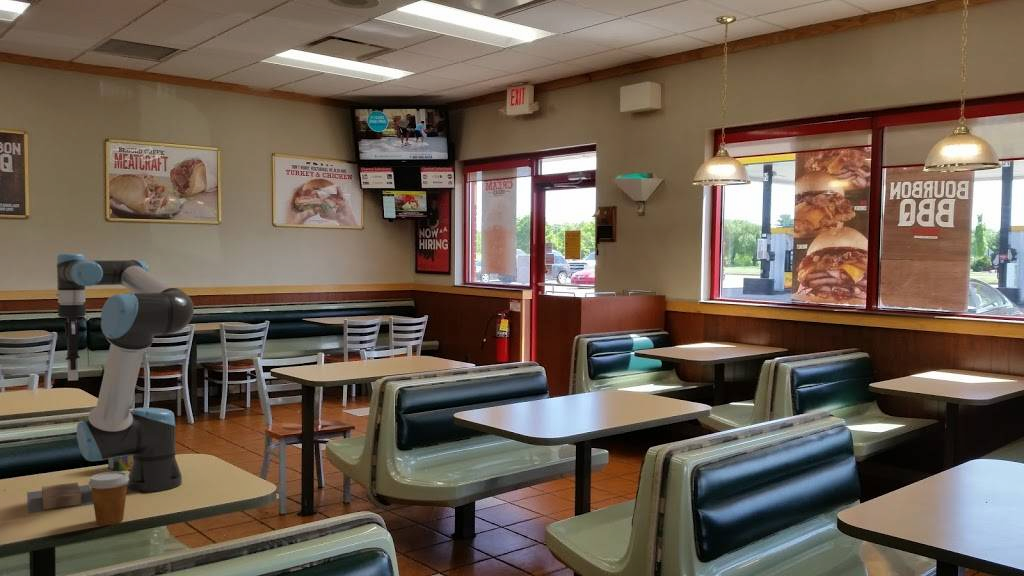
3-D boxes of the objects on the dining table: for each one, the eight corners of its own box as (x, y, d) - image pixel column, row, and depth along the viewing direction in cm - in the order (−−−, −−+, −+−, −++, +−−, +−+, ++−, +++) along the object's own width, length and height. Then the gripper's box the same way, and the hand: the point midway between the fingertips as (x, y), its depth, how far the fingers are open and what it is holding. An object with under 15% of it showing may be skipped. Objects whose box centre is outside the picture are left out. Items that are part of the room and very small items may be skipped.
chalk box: (147, 467, 271) (146, 422, 270) (118, 473, 264) (117, 426, 263) (135, 462, 277) (135, 418, 276) (107, 468, 270) (106, 422, 270)
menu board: (77, 482, 241) (80, 494, 229) (77, 492, 241) (81, 505, 229) (41, 486, 236) (43, 499, 224) (41, 497, 237) (43, 510, 225)
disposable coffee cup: (133, 523, 216) (132, 477, 215) (92, 529, 210) (91, 482, 210) (126, 513, 224) (125, 469, 223) (86, 519, 218) (86, 474, 218)
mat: (89, 486, 249) (89, 484, 249) (95, 505, 231) (95, 503, 230) (27, 493, 241) (27, 492, 241) (28, 514, 222) (28, 513, 222)
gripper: (56, 303, 260) (58, 378, 261) (58, 305, 249) (60, 383, 250) (83, 302, 264) (85, 376, 265) (87, 304, 253) (88, 381, 254)
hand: (73, 379), depth 258 cm, fingers closed
